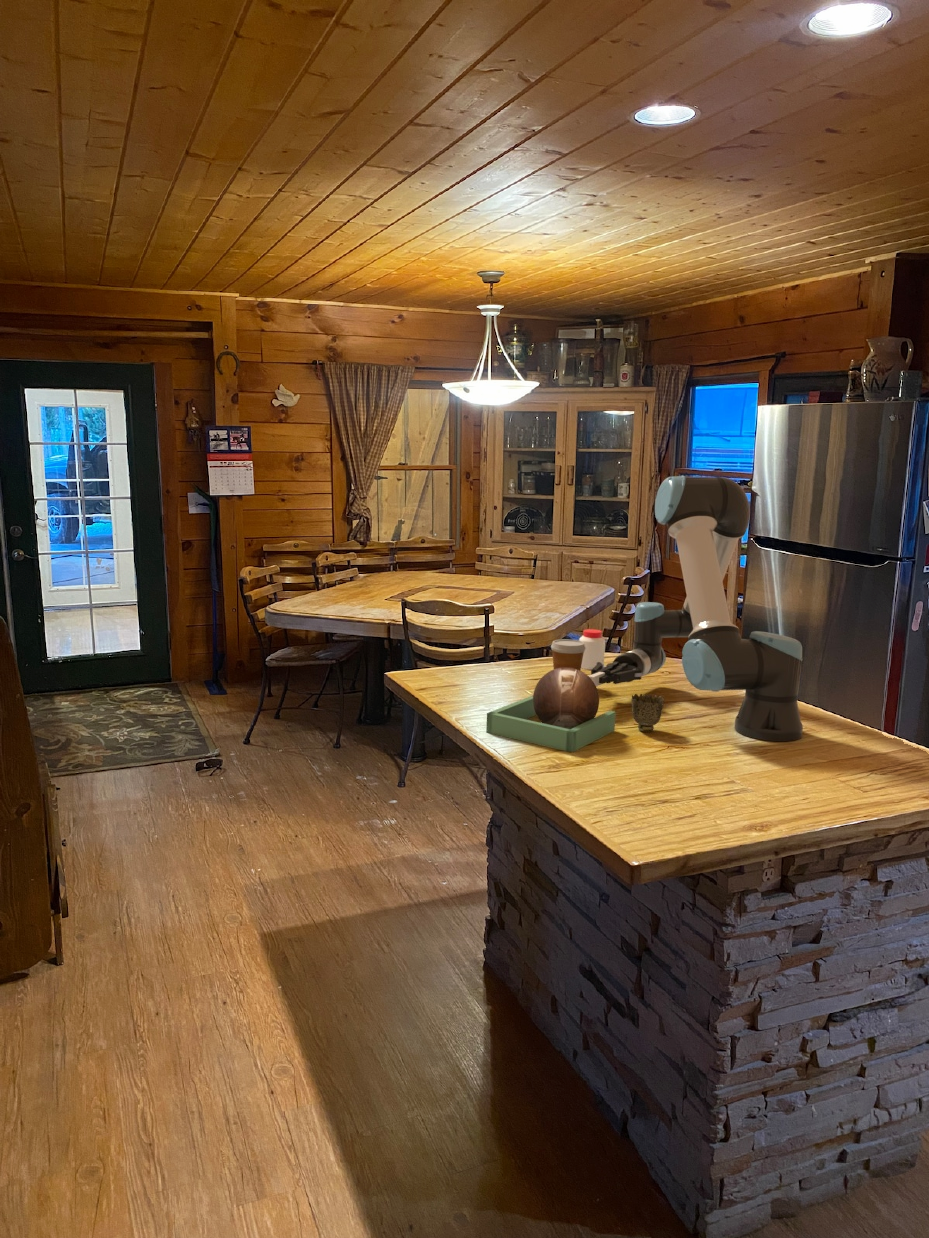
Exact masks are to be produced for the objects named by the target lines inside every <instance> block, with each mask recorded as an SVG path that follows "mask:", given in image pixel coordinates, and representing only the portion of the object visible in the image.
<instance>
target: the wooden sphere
mask: <svg viewBox="0 0 929 1238" xmlns="http://www.w3.org/2000/svg"><path fill="white" fill-rule="evenodd" d="M589 676H590V675H587V673H585V672H583V671H581V670H578V669H575V668H569V667H562V668H557V669H554V668H553V669H551V670H550V671H548V672H547V673H545V674H544V675H542V677H541V678H540V679H538V680H539V681H537V683H536V685H535V687H534V690H533V695H532V696H533V706H534V710H535V713H536V715H535V716H536V717H537V718H538V720H539V722H540V723H544V724H548V725H553V726H557V727H562V728H566V729H572V728H574V727H576V726H578V725H581V724H583V723H585V722H587V721H589V720H591V719H593V718H595V717H597V713H598V711H599V706H600V695H599V690H598V688H597V686H596V685H595V684H594V682H593V681H592V679H591V678H590V677H589Z"/></svg>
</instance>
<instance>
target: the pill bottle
mask: <svg viewBox="0 0 929 1238" xmlns="http://www.w3.org/2000/svg"><path fill="white" fill-rule="evenodd" d="M582 631H583V635H581V636H580V637H579V639H578V641H581V642H584V645H585V647H586V649H585V651H584V653H583V659H582V664H581V670H588V671H589V670H590V671H591V669H593V668H594V667H595V666H596V665H597V662H600V663H602V664H604V665H605V652H606V639H605V638H604V637H603V631H602V630H599V629H595V628H594V629H592V628H587V629H584V630H582Z"/></svg>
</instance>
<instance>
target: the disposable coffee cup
mask: <svg viewBox="0 0 929 1238" xmlns="http://www.w3.org/2000/svg"><path fill="white" fill-rule="evenodd" d="M550 648H551V650H552V664H553V670H554V669H557V668H562V667H569V668H575V669H578V670H580V671H581V670H582V668H581V664H582V659H583V653H584V651H585V649H586V647H585V645H584V642H581V641H579V639H563V638H561V639H556V640H555V639H554V640H553V641H552V643H551V645H550Z"/></svg>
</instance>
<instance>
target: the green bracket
mask: <svg viewBox="0 0 929 1238" xmlns="http://www.w3.org/2000/svg"><path fill="white" fill-rule="evenodd" d="M616 713H617V711H612V710H608V711H606V712H604V713H602V714H599V715H596V716H595V718H593V719H591V720H589V721H587V722H585V723H583V724H581V725H578V726H576V727H574V728H572V729H566V728H562V727H557V726H553V725H548V724H544V723H542V722H540V721H535V720H534V721H533V720H530V718H532V717H534V716H537V715H536V713H535V710H534V706H533V695H530V696H527V697H524V698H523V699H520V700H517V701H515V702H513V703H510V704H507V705H504V706H502V707H499V708H496V709H493V710H492V711H489V712H487V713H486V731H485V732H486V734H487V733H488V734H492V735H496V736H501V737H505V738H508V739H509V738H510V739H513V740H517V741H521V742H526V743H530V744H534V745H538V746H541V747H542V746H544V747H547V748H551V749H555V750H559V751H562V752H563V751H564V752H568V753H574V752H576V751H578V750H580V749H582V748H584V747H586V746H588V745H590V744H592V743H593V742H595V741H597V740H599V739H601V738H603V737H605V736H607V735H609V734H611V733H613V732H614V731H615V728H616Z"/></svg>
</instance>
